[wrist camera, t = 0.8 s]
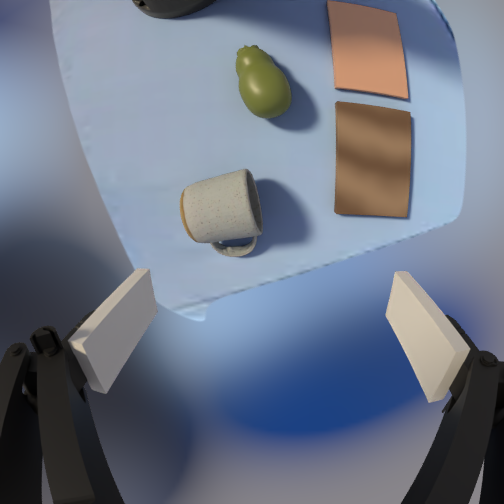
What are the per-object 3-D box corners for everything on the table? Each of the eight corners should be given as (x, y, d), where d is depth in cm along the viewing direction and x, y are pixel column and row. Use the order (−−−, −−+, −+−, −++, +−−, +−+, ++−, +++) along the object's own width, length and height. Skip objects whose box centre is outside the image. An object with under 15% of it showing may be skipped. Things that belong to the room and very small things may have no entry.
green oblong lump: (248, 117, 26) (220, 47, 25) (255, 129, 31) (230, 66, 30) (299, 100, 25) (266, 31, 23) (299, 115, 30) (270, 52, 29)
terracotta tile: (326, 2, 24) (327, 0, 23) (394, 15, 23) (395, 13, 22) (334, 88, 28) (335, 87, 28) (405, 99, 28) (408, 98, 27)
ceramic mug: (189, 183, 34) (168, 192, 27) (251, 166, 33) (244, 170, 26) (212, 258, 38) (198, 283, 31) (271, 245, 36) (270, 270, 29)
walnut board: (335, 103, 29) (337, 101, 28) (406, 113, 28) (410, 112, 27) (334, 211, 34) (336, 213, 33) (403, 215, 33) (406, 217, 32)
